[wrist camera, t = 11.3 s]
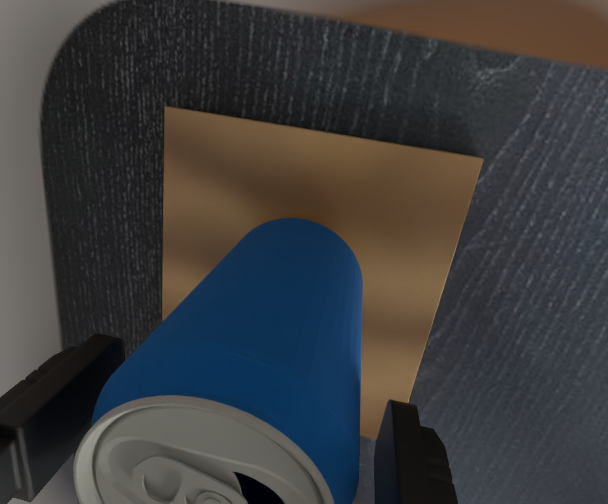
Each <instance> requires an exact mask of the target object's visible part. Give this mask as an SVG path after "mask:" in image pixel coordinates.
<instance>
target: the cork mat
mask: <svg viewBox="0 0 608 504" xmlns="http://www.w3.org/2000/svg"><path fill="white" fill-rule="evenodd" d="M483 160H484V158H482V157H479V156H473V155H467V154H460V153H454V152H448V151H442V150H436V149H430V148H424V147H418V146H411V145H405V144H399V143H393V142H387V141H381V140H375V139H368V138H362V137H356V136H350V135H344V134H338V133H332V132H326V131H319V130H313V129H307V128H301V127H295V126H289V125H283V124H276V123H270V122H264V121H258V120H252V119H246V118H240V117H234V116H227V115H221V114H215V113H209V112H203V111H197V110H191V109H185V108H178V107H172V106H165V116H164V199H163V283H162V322H163V321H164V320H165V319H166V318H167V317H168V316H169V314H170V313H171V312H172V311H173V310H174V309H175V308H176V307H177V306H178V305H179V304H180V303H181V302H182V301H183V300H184V299H185V298H186V297H187V296H188V295H189V294H190V293H191V291H192V290H193V289H194V288H195V287H196V286H197V285H198V284H199V283H200V282H201V281H202V280H203V279H204V278H205V277H206V276H207V275H208V274H209V273H210V272H211V271H212V270H213V269H214V267H215V266H216V265H217V264H218V263H219V262H220V261H221V260H222V259H223V258H224V257H225V256H226V255H227V254H228V253H229V252H230V251H231V250H232V249H233V248H234V247H235V246H236V245H237V243H238V242H239V241H240V240H241V239H242V238H243V237H244V236H245V235H246V234H247V233H249V232H250V231H251V230H252V229H254V228H255V227H257V226H259V225H261V224H263V223H266V222H268V221H272V220H275V219H282V218H300V219H306V220H310V221H313V222H316V223H319V224H321V225H323V226H325V227H327V228H329V229H330V230H332V231H333V232H335V233H336V234H337V235H339V236H340V237H341V238H342V239H343V240H344V241H345V242H346V243H347V245H348V246H349V247H350V248H351V250H352V251H353V253H354V255H355V256H356V258H357V261H358V263H359V265H360V269H361V273H362V280H363V299H362V352H361V404H360V436H363V437H368V438H372V439H376V440H377V437H378V433H379V430H380V426H381V423H382V419H383V416H384V412H385V409H386V405H387V402H388V400H389V399H391V400H396V401H400V402H405V403H408V401H409V398H410V395H411V392H412V388H413V385H414V382H415V379H416V376H417V372H418V369H419V366H420V363H421V359H422V356H423V353H424V350H425V347H426V343H427V340H428V337H429V334H430V331H431V327H432V324H433V321H434V318H435V314H436V311H437V308H438V305H439V302H440V298H441V295H442V292H443V289H444V286H445V282H446V279H447V276H448V273H449V270H450V266H451V263H452V260H453V257H454V253H455V250H456V247H457V244H458V241H459V237H460V234H461V231H462V228H463V225H464V221H465V218H466V215H467V212H468V208H469V205H470V202H471V199H472V196H473V192H474V189H475V186H476V183H477V180H478V176H479V173H480V170H481V167H482V163H483Z"/></svg>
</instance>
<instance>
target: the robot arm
mask: <svg viewBox="0 0 608 504" xmlns="http://www.w3.org/2000/svg"><path fill="white" fill-rule="evenodd" d="M124 361H125V346H124V341H123V340H122V339H121V338H116V337H112V336H107V335H103V334H94V335H92V336H91V337H90V338H89V339H87V340H86V341H85V342H84V343H83V344H81V345H80V346H79V347H74V346H73V347H71V348H69V349H67V350H64V351H62V352H60V353H58V354H56V355H54V356H52V357H51V358H50V359H49V360H47V361H46V362H45V363H43V364H42V365H41V366H40V367H39V368H38V370H34V371H33V372H32V373H31V374H30V375H28V376H27V377H26V379H25V380H22V381H20V382H19V383H18V384H17V385H15V386H14V387H13V388H12V389H10V390H9V391H8V392H7V393H5V394H4V395H3V396H2V397H0V504H7V503H8V502H9V501H10V500H11V499H12V498H17V499H21V500H24V501H28V502H31V501H32V500H33V499H34V498H35V497H36V496H37V494H38V493H39V492H40V490H42V489H43V487H44V486H45V485H46V484H47V483H48V481H49V480H50V479H51V478H52V477H53V476H54V475H55V473H56V472H57V471H58V469H60V467H61V466H62V465H63V464H64V463H65V462H66V460H67V459H68V458H69V457H70V456H71V454H72V453H73V452H74V451H75V450H76V449H77V448H78V446H79V444H80V442H81V441H82V439H83V438H84V436H85V435H86V433H87V432H88V431H89V430H90V428H91V423H92V418H93V413H94V409H95V405H96V403H97V400H98V398H99V395H100V393H101V391H102V389H103V387H104V385H105V384H106V382H107V381H108V379H109V378H110V376H111V375H112V374H113V373H114V372H115V371H116V370H117V369H118V368H119V367H120V366H121V365H122V364H123V362H124ZM452 480H453V479H452V475H451V471H450V468H449V462H448V458H447V454H446V449H445V446H444V444H443V443H442V441H441V440H440V438H439V437H438V435H437V434H436V432H435V431H434V429H432V428H427V427H423V426H420V421H419V415H418V410H417V406H416V405H414V404H409V403H405V402H400V401H396V400H391V399H389V400H388V402H387V405H386V409H385V412H384V416H383V419H382V423H381V426H380V430H379V433H378V437H377V441H376V446H375V453H374V487H375V504H458V501H457V496H456V492H455V488H454V484H452Z"/></svg>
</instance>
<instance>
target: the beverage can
mask: <svg viewBox="0 0 608 504" xmlns="http://www.w3.org/2000/svg"><path fill="white" fill-rule="evenodd" d="M362 299H363V280H362V273H361V269H360V265H359V263H358V261H357V258H356V256H355V255H354V253H353V251H352V250H351V248H350V247H349V246H348V245H347V243H346V242H345V241H344V240H343V239H342V238H341V237H340V236H339V235H337V234H336V233H335V232H333V231H332V230H330V229H329V228H327V227H325V226H323V225H321V224H319V223H316V222H313V221H310V220H306V219H300V218H282V219H275V220H272V221H268V222H266V223H263V224H261V225H259V226H257V227H255V228H254V229H252V230H251V231H250V232H249V233H247V234H246V235H245V236H244V237H243V238H242V239H241V240H240V241H239V242H238V243H237V245H236V246H235V247H234V248H233V249H232V250H231V251H230V252H229V253H228V254H227V255H226V256H225V257H224V258H223V259H222V260H221V261H220V262H219V263H218V264H217V265H216V266H215V267H214V269H213V270H212V271H211V272H210V273H209V274H208V275H207V276H206V277H205V278H204V279H203V280H202V281H201V282H200V283H199V284H198V285H197V286H196V287H195V288H194V289H193V290H192V291H191V293H190V294H189V295H188V296H187V297H186V298H185V299H184V300H183V301H182V302H181V303H180V304H179V305H178V306H177V307H176V308H175V309H174V310H173V311H172V312H171V313H170V314H169V316H168V317H167V318H166V319H165V320H164V321H163V322H162V323H161V324H160V325H159V326H158V327H157V328H156V329H155V330H154V331H153V332H152V333H151V334H150V335H149V336H148V337H147V338H146V340H145V341H144V342H143V343H142V344H141V345H140V346H139V347H138V348H137V349H136V350H135V351H134V352H133V353H132V354H131V355H130V356H129V357H128V358H127V359H126V360H125V361H124V362H123V364H122V365H121V366H120V367H119V368H118V369H117V370H116V371H115V372H114V373H113V374H112V375H111V376H110V378H109V379H108V381H107V382H106V384H105V385H104V387H103V389H102V391H101V393H100V395H99V398H98V400H97V403H96V405H95V409H94V413H93V418H92V423H91V428H90V430H89V431H88V432H87V433H86V435H85V436H84V438H83V439H82V441H81V442H80V444H79V447H78V449H77V451H76V454H75V459H74V464H73V479H74V485H75V490H76V494H77V497H78V500H79V503H80V504H352V503H353V501H354V498H355V495H356V491H357V487H358V482H359V456H360V404H361V352H362Z"/></svg>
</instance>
